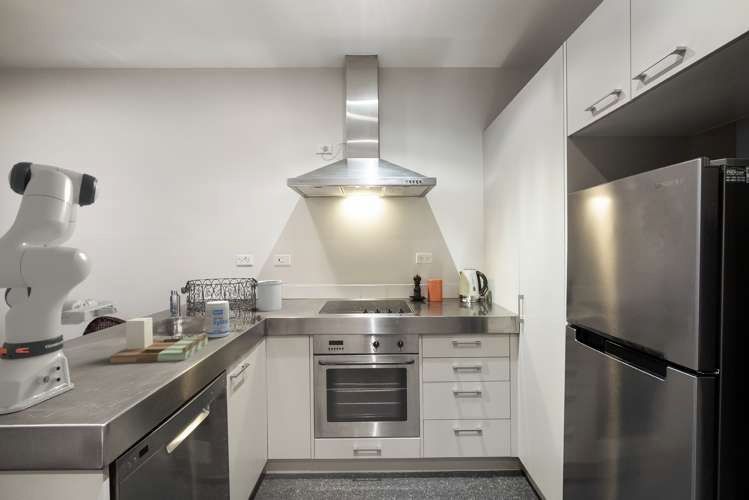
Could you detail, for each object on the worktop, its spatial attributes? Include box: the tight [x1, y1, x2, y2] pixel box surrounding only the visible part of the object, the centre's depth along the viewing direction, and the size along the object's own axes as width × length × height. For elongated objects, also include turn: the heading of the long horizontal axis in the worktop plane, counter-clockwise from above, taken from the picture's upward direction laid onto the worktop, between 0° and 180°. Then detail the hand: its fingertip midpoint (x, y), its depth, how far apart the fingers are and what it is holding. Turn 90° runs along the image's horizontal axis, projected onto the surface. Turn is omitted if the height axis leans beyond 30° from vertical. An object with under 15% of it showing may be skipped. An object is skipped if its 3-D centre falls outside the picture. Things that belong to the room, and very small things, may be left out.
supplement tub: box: [204, 300, 230, 339], centre depth 161 cm, size 10×10×15 cm
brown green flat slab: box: [109, 332, 209, 364], centre depth 136 cm, size 22×24×4 cm
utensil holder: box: [256, 279, 283, 312], centre depth 229 cm, size 15×15×18 cm
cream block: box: [125, 317, 154, 349], centre depth 135 cm, size 6×6×10 cm
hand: (115, 310), depth 134 cm, fingers closed
